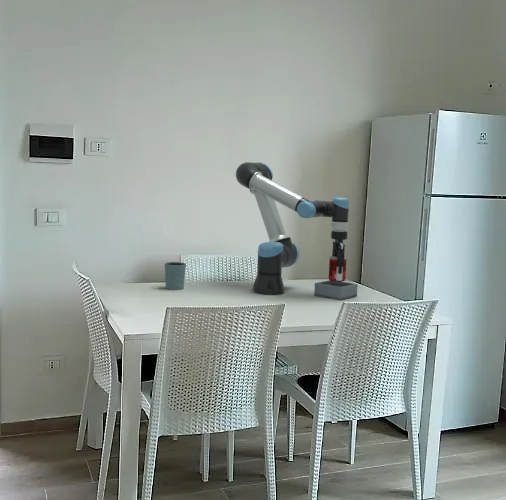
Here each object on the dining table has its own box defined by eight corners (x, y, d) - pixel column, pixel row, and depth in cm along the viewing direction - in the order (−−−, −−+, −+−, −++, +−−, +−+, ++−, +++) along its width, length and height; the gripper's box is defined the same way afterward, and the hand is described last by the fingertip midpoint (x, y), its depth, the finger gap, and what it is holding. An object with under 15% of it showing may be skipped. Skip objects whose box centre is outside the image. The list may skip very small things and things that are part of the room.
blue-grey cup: (182, 286, 336) (183, 261, 334) (187, 290, 326) (188, 265, 325) (162, 286, 332) (162, 261, 331) (166, 290, 323) (166, 265, 321)
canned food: (348, 280, 326) (349, 257, 325) (336, 282, 321) (338, 258, 320) (336, 278, 332) (338, 255, 331) (325, 279, 327) (326, 256, 326)
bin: (314, 295, 327) (314, 283, 326) (330, 291, 338) (331, 279, 337) (340, 300, 318) (341, 287, 317) (356, 296, 329) (357, 284, 328)
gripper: (326, 228, 334) (324, 275, 336) (336, 232, 313) (334, 282, 316) (342, 228, 335) (339, 275, 337) (352, 233, 314) (350, 282, 317)
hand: (337, 278), depth 327 cm, fingers closed on canned food, 8 cm apart
